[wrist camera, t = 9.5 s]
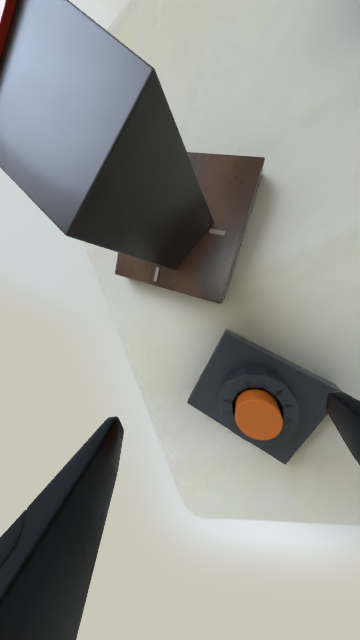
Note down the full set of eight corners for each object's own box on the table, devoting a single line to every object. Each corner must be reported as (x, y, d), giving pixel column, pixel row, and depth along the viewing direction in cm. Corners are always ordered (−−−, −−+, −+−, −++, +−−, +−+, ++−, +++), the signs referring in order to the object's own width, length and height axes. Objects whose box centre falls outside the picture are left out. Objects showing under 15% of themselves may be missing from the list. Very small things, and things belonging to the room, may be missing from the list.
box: (214, 221, 16) (151, 57, 5) (174, 270, 18) (59, 234, 7) (160, 173, 17) (-5, -65, 6) (127, 224, 19) (-49, 121, 7)
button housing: (334, 384, 17) (357, 406, 14) (281, 450, 19) (290, 483, 16) (226, 328, 19) (223, 336, 16) (190, 394, 22) (182, 412, 19)
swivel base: (262, 172, 16) (265, 155, 14) (222, 302, 19) (220, 303, 17) (140, 161, 20) (128, 146, 18) (121, 274, 22) (109, 272, 20)
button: (287, 403, 16) (292, 416, 14) (265, 433, 17) (267, 449, 15) (247, 381, 16) (248, 391, 15) (228, 411, 17) (227, 423, 16)
